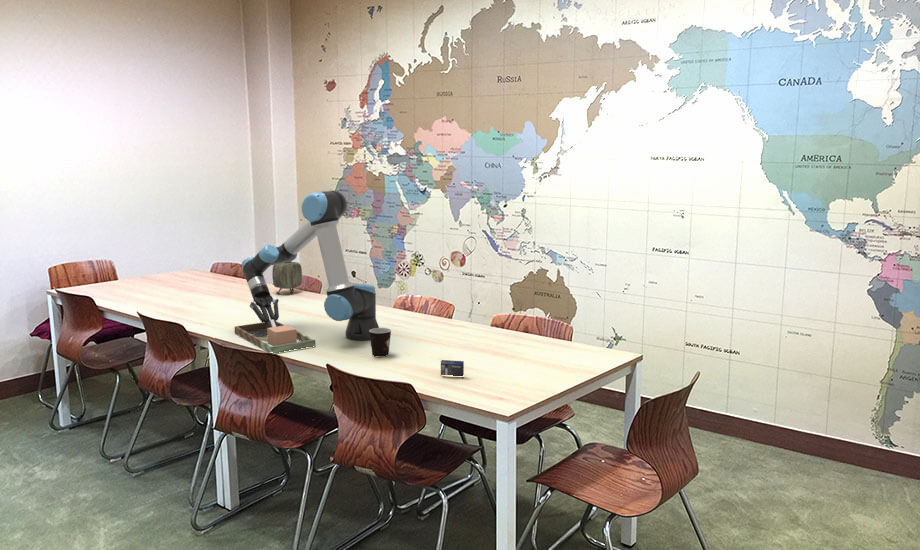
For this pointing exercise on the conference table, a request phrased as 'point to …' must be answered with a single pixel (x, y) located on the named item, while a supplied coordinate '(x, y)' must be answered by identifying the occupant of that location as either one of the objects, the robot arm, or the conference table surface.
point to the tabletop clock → (287, 275)
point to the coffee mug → (380, 341)
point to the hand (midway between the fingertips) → (275, 333)
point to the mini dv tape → (452, 367)
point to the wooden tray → (250, 329)
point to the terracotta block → (281, 335)
